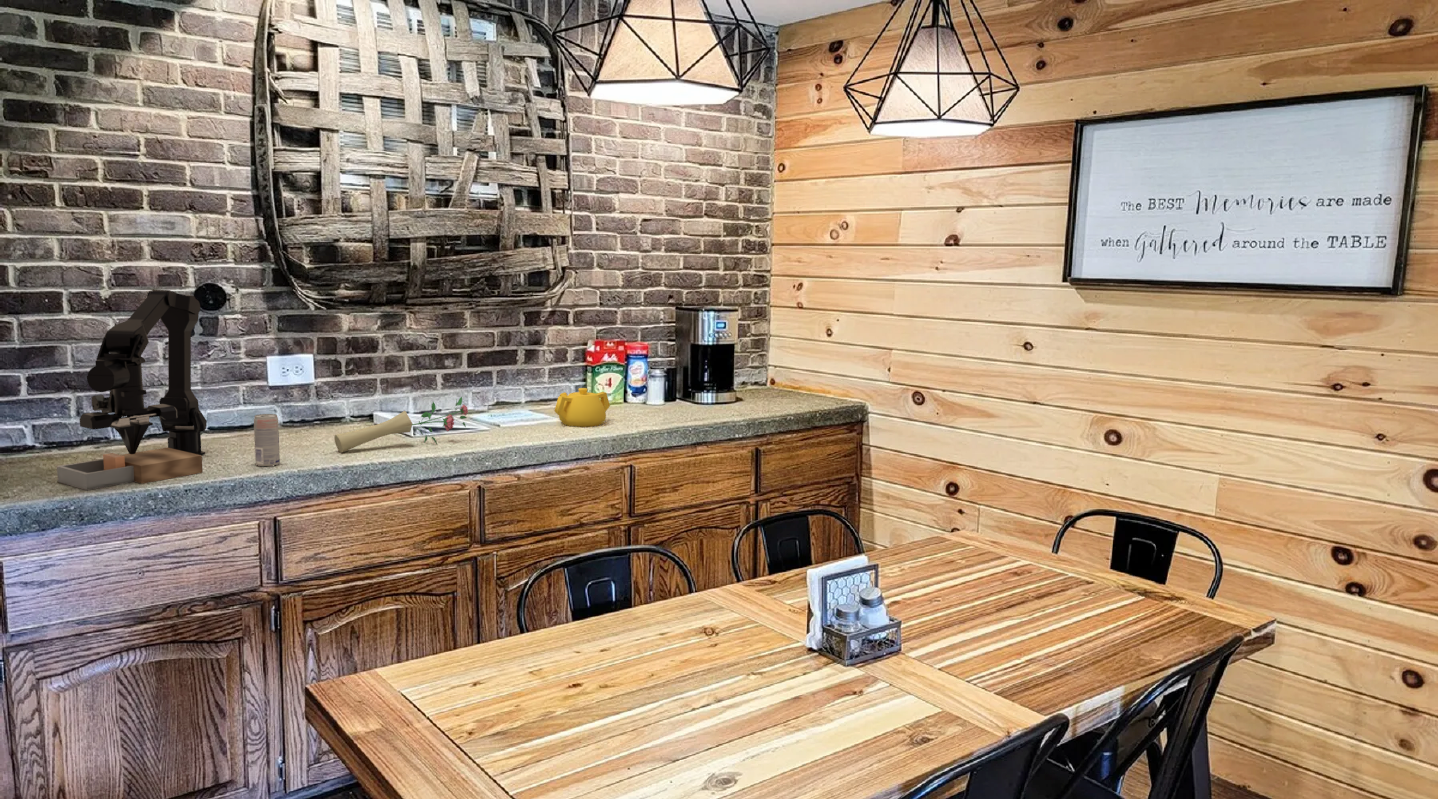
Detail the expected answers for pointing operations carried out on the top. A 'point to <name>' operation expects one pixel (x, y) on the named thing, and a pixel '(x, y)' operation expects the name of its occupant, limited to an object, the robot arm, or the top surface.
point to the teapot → (582, 408)
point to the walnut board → (163, 464)
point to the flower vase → (392, 428)
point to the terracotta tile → (113, 461)
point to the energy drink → (266, 440)
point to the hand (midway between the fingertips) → (132, 453)
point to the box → (93, 475)
